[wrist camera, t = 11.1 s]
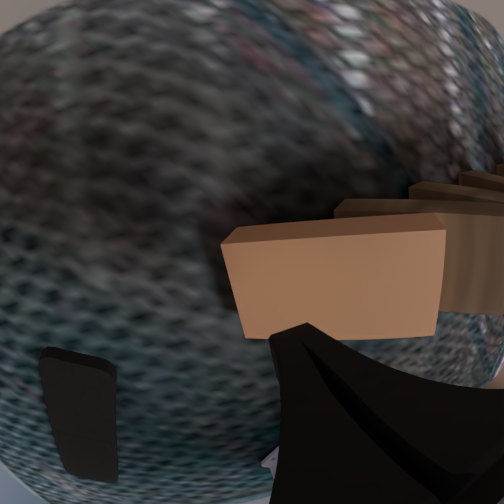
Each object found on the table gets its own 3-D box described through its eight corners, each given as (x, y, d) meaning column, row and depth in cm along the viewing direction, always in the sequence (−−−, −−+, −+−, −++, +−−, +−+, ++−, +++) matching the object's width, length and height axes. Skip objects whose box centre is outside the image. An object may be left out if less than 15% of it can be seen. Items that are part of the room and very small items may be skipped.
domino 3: (341, 300, 16) (502, 315, 11) (333, 210, 14) (520, 218, 9) (351, 281, 17) (497, 293, 12) (344, 198, 15) (510, 204, 10)
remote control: (44, 333, 14) (67, 464, 18) (35, 350, 13) (65, 478, 16) (119, 350, 16) (119, 474, 19) (116, 369, 14) (118, 489, 18)
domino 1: (245, 337, 14) (434, 335, 11) (220, 244, 13) (446, 229, 9) (257, 314, 16) (427, 309, 13) (237, 227, 14) (433, 212, 11)
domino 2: (409, 266, 17) (537, 305, 10) (408, 187, 15) (556, 213, 8) (422, 254, 18) (541, 288, 11) (421, 180, 16) (555, 203, 9)
